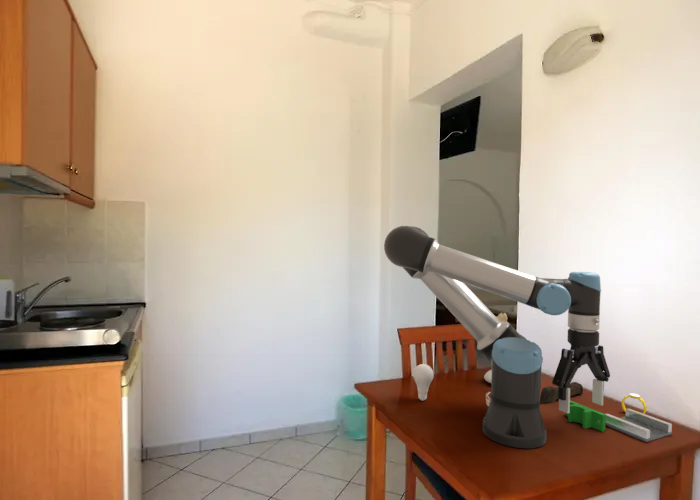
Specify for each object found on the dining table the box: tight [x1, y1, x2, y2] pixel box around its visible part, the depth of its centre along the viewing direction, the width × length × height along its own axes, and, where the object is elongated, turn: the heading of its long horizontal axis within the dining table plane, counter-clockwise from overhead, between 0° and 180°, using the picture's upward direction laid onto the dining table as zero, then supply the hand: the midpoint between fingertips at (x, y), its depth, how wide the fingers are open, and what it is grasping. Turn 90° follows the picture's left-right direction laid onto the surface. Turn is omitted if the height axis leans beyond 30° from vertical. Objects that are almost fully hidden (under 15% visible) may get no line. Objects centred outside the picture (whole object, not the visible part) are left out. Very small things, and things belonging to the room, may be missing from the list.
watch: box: [621, 392, 648, 414], centre depth 126 cm, size 6×3×6 cm, turn 42°
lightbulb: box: [412, 363, 435, 401], centre depth 132 cm, size 6×6×11 cm
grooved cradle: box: [604, 408, 673, 443], centre depth 116 cm, size 11×11×3 cm
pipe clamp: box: [564, 400, 606, 432], centre depth 119 cm, size 11×4×5 cm, turn 25°
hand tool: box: [540, 381, 584, 404], centre depth 138 cm, size 19×4×5 cm, turn 118°
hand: (581, 407), depth 118 cm, fingers open, 13 cm apart
